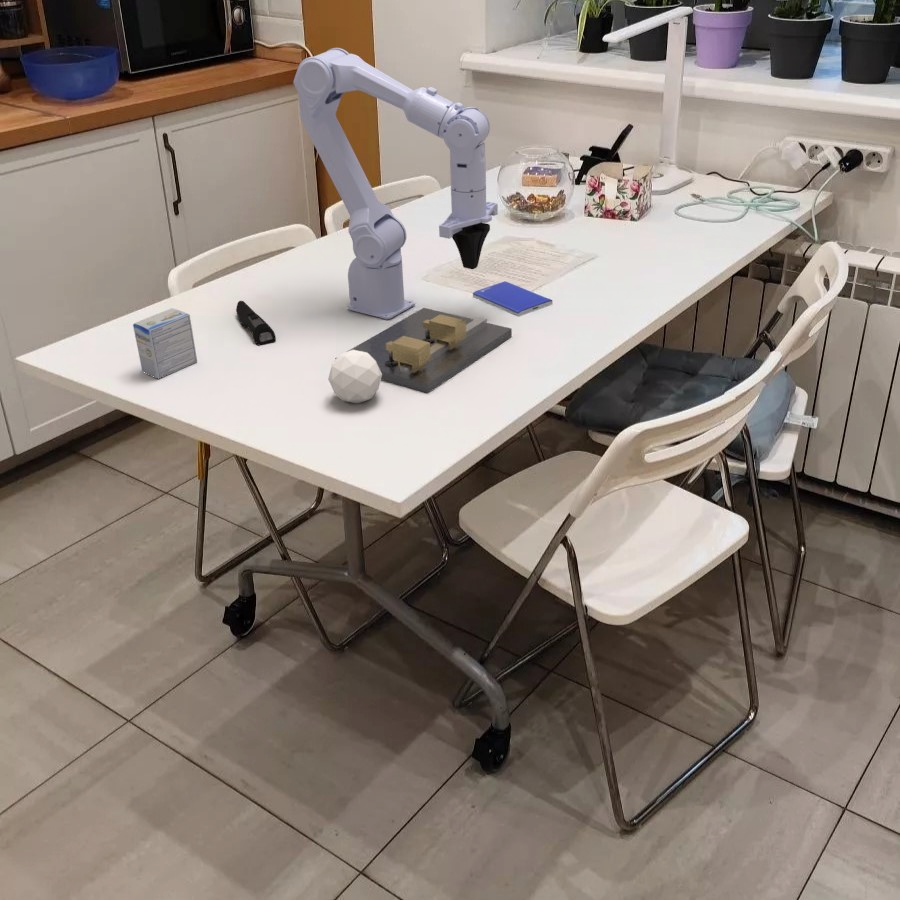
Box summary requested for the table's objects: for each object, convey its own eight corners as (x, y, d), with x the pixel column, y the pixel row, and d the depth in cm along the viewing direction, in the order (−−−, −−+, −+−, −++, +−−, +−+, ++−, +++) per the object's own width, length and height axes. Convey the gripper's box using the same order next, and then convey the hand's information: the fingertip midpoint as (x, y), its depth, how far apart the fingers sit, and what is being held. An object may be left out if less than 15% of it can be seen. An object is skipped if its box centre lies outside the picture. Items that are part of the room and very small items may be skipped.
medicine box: (181, 356, 171) (172, 306, 167) (198, 362, 169) (190, 313, 164) (141, 373, 166) (131, 322, 162) (158, 380, 164) (149, 329, 159)
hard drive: (472, 291, 189) (518, 311, 180) (506, 280, 193) (552, 298, 185) (472, 299, 190) (518, 319, 181) (506, 288, 194) (552, 307, 185)
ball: (344, 416, 157) (312, 373, 155) (384, 384, 159) (352, 342, 158) (357, 412, 150) (324, 368, 148) (399, 379, 152) (366, 335, 151)
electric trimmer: (253, 313, 187) (250, 297, 186) (278, 343, 175) (275, 325, 173) (233, 317, 186) (230, 301, 184) (256, 347, 174) (254, 330, 172)
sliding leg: (420, 341, 168) (418, 318, 166) (430, 335, 170) (429, 311, 168) (455, 350, 165) (455, 327, 163) (466, 344, 167) (465, 320, 165)
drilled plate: (336, 366, 166) (332, 332, 163) (424, 315, 182) (422, 283, 179) (427, 393, 156) (426, 356, 153) (511, 336, 173) (511, 303, 170)
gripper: (463, 202, 162) (466, 285, 169) (512, 179, 172) (513, 258, 179) (427, 196, 165) (430, 277, 172) (477, 174, 176) (478, 251, 182)
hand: (470, 267), depth 176 cm, fingers closed
